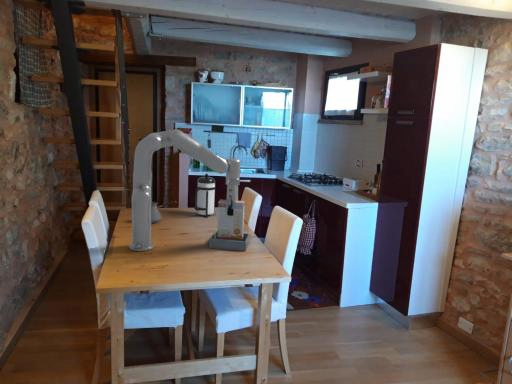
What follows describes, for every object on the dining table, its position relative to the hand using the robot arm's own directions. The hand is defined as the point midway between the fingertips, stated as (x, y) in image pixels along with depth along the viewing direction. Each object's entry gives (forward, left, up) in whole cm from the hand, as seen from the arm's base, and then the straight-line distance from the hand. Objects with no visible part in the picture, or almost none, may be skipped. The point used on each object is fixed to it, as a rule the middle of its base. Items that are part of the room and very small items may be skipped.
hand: (231, 213), depth 218 cm
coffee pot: (+33, +52, -18) cm, 64 cm away
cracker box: (0, 0, -14) cm, 14 cm away
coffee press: (+60, +29, -18) cm, 69 cm away
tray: (0, 0, -18) cm, 18 cm away
